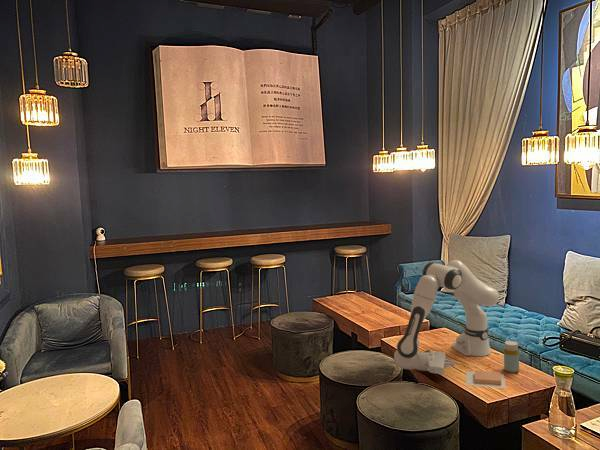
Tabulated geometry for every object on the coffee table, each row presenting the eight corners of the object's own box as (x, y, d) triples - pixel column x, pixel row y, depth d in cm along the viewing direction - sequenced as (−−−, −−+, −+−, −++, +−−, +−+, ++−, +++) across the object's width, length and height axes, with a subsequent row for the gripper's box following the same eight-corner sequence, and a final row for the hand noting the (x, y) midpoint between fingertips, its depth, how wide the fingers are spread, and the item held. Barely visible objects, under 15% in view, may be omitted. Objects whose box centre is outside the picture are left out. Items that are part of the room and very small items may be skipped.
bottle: (520, 374, 243) (520, 345, 241) (506, 373, 245) (505, 345, 243) (517, 368, 250) (516, 340, 248) (503, 368, 251) (502, 340, 250)
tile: (474, 378, 236) (501, 380, 232) (474, 370, 245) (500, 372, 241) (474, 383, 236) (501, 385, 232) (474, 374, 245) (500, 376, 241)
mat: (465, 386, 235) (465, 385, 235) (466, 372, 250) (466, 371, 250) (505, 389, 229) (505, 388, 229) (503, 374, 244) (503, 373, 244)
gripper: (424, 363, 237) (453, 365, 233) (427, 348, 256) (454, 350, 252) (424, 376, 238) (453, 378, 233) (427, 359, 257) (455, 361, 253)
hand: (454, 363), depth 243 cm, fingers closed
